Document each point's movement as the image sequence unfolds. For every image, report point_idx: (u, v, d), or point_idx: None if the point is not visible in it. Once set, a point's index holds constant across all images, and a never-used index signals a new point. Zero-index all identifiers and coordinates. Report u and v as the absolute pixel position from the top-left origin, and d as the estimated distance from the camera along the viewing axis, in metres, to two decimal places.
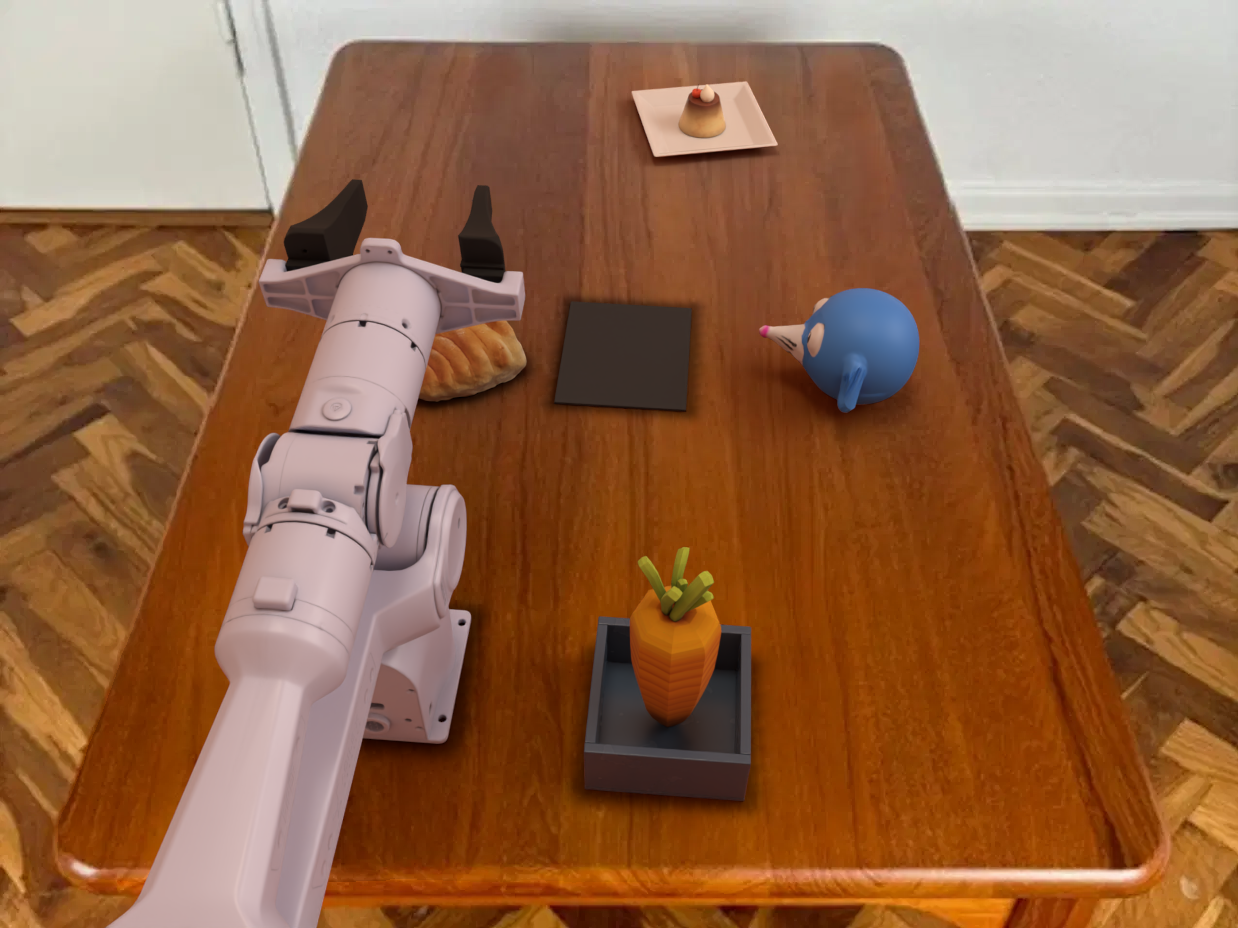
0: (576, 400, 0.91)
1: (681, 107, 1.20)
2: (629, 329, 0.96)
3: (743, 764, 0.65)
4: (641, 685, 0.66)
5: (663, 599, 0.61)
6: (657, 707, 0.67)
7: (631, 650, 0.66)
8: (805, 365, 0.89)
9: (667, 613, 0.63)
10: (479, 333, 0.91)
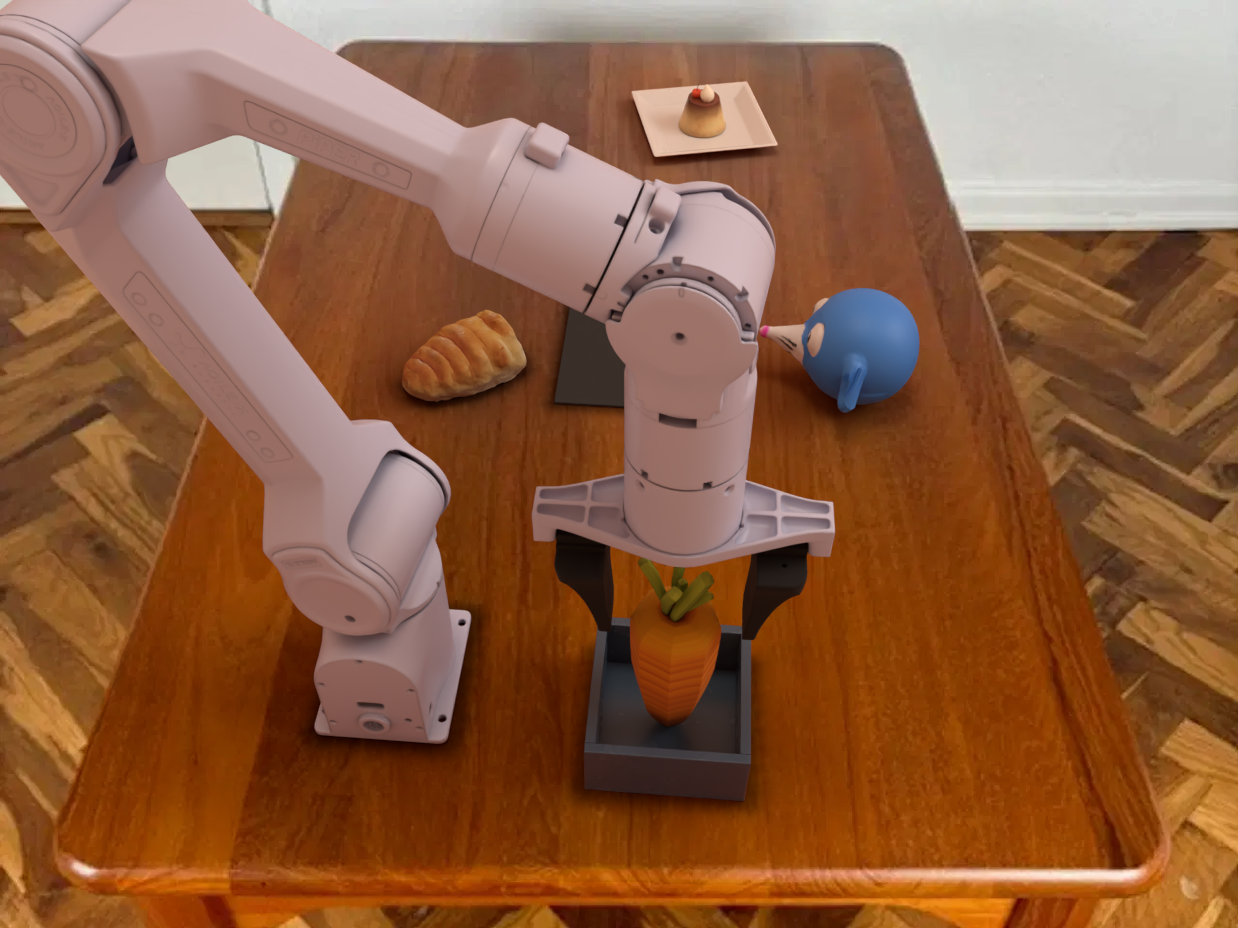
0: (576, 400, 0.91)
1: (681, 107, 1.20)
2: None
3: (743, 764, 0.65)
4: (641, 685, 0.66)
5: (663, 599, 0.61)
6: (657, 707, 0.67)
7: (631, 650, 0.66)
8: (805, 365, 0.89)
9: (667, 613, 0.63)
10: (479, 333, 0.91)
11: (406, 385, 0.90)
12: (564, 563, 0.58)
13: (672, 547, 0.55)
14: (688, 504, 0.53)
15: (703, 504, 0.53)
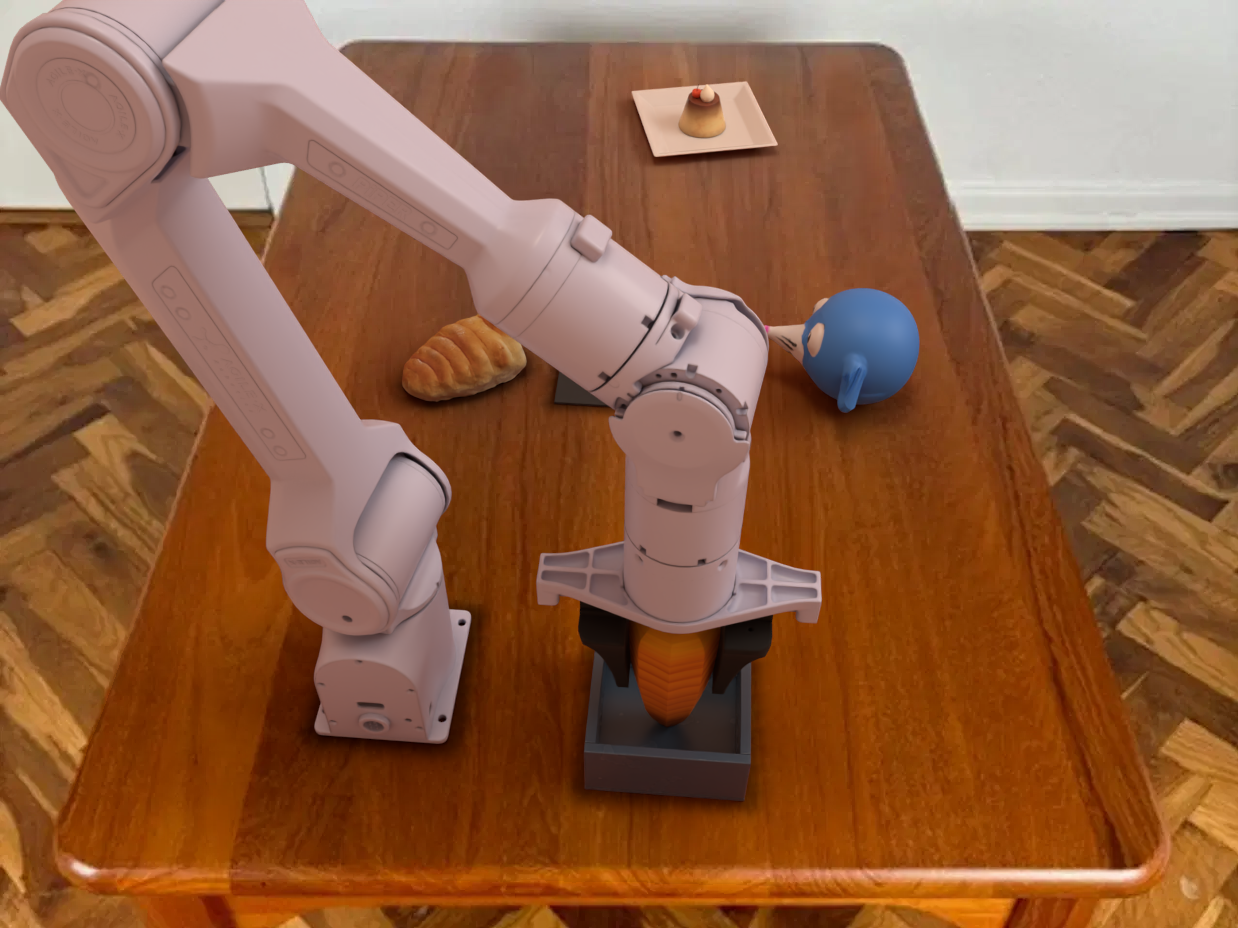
0: (576, 400, 0.91)
1: (681, 107, 1.20)
2: None
3: (743, 764, 0.65)
4: (640, 685, 0.66)
5: None
6: (656, 707, 0.67)
7: (630, 650, 0.66)
8: (805, 365, 0.89)
9: None
10: (479, 333, 0.91)
11: (406, 385, 0.90)
12: (587, 627, 0.62)
13: (668, 615, 0.59)
14: (684, 578, 0.57)
15: (698, 578, 0.57)
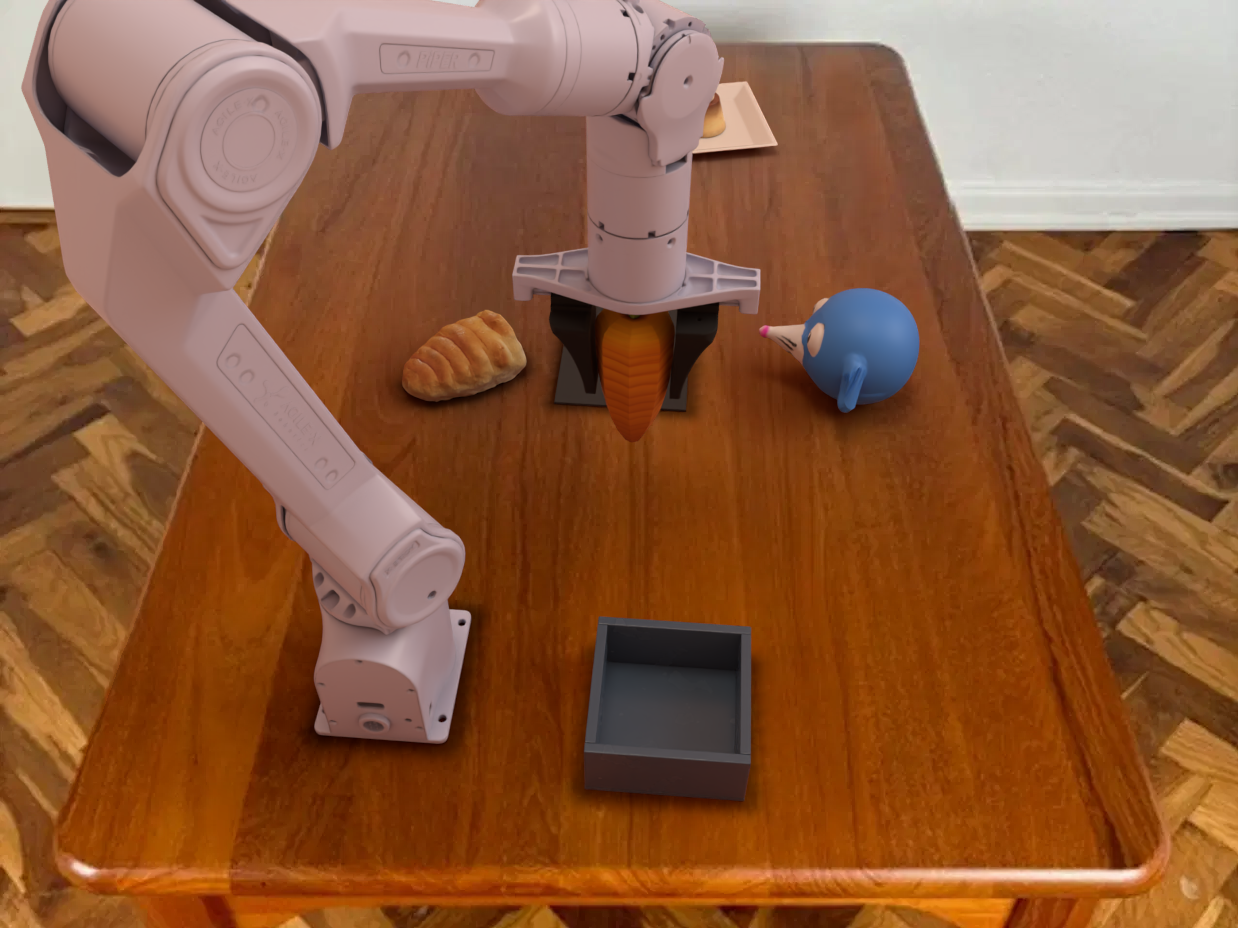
0: (576, 400, 0.91)
1: None
2: None
3: (743, 764, 0.65)
4: (605, 387, 0.75)
5: None
6: (620, 411, 0.76)
7: (597, 357, 0.75)
8: (805, 365, 0.89)
9: None
10: (479, 333, 0.91)
11: (406, 385, 0.90)
12: (557, 318, 0.71)
13: (626, 296, 0.68)
14: (637, 252, 0.66)
15: (650, 253, 0.66)
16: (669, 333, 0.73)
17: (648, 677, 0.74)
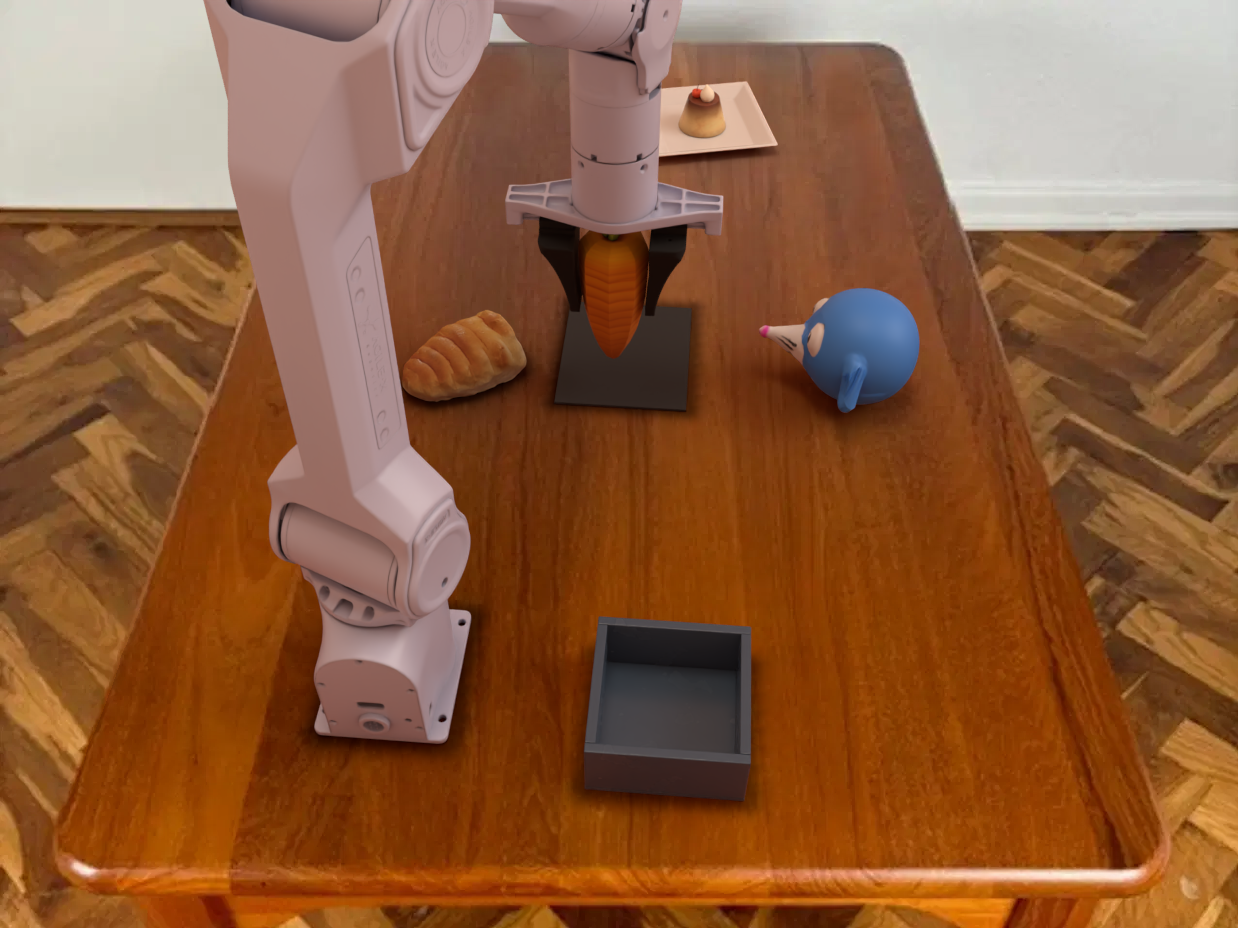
0: (576, 400, 0.91)
1: (681, 107, 1.20)
2: None
3: (743, 764, 0.65)
4: (588, 304, 0.85)
5: None
6: (601, 327, 0.86)
7: (580, 278, 0.85)
8: (805, 365, 0.89)
9: (606, 235, 0.82)
10: (479, 333, 0.91)
11: (406, 385, 0.90)
12: (544, 240, 0.80)
13: (604, 217, 0.78)
14: (614, 176, 0.75)
15: (625, 177, 0.75)
16: (644, 254, 0.82)
17: (648, 677, 0.74)
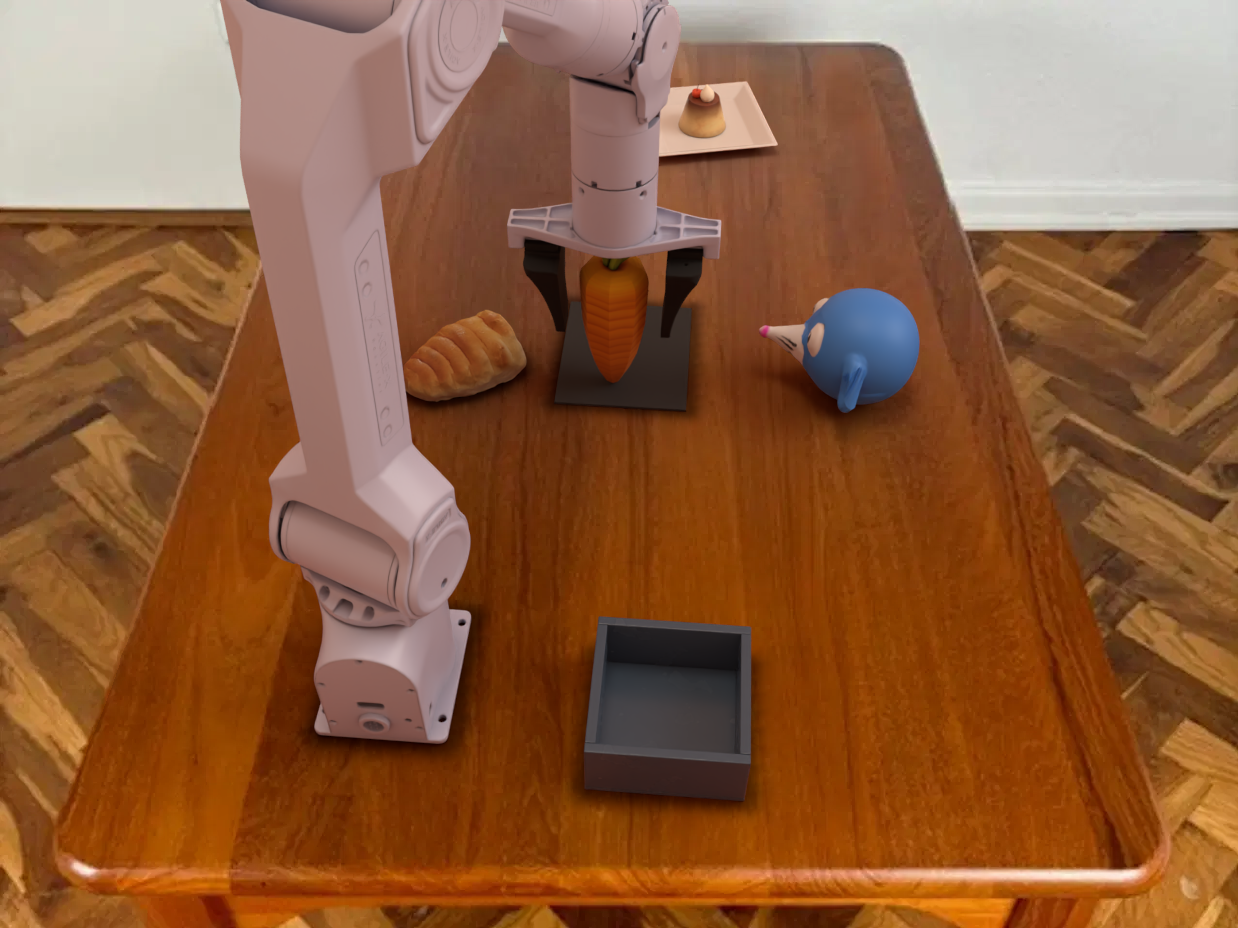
0: (576, 400, 0.91)
1: (681, 107, 1.20)
2: None
3: (743, 764, 0.65)
4: (589, 331, 0.86)
5: None
6: (602, 353, 0.88)
7: (581, 305, 0.87)
8: (805, 365, 0.89)
9: (606, 264, 0.84)
10: (479, 333, 0.91)
11: (406, 385, 0.90)
12: (530, 262, 0.82)
13: (605, 241, 0.79)
14: (614, 203, 0.77)
15: (625, 203, 0.77)
16: (643, 283, 0.84)
17: (648, 677, 0.74)
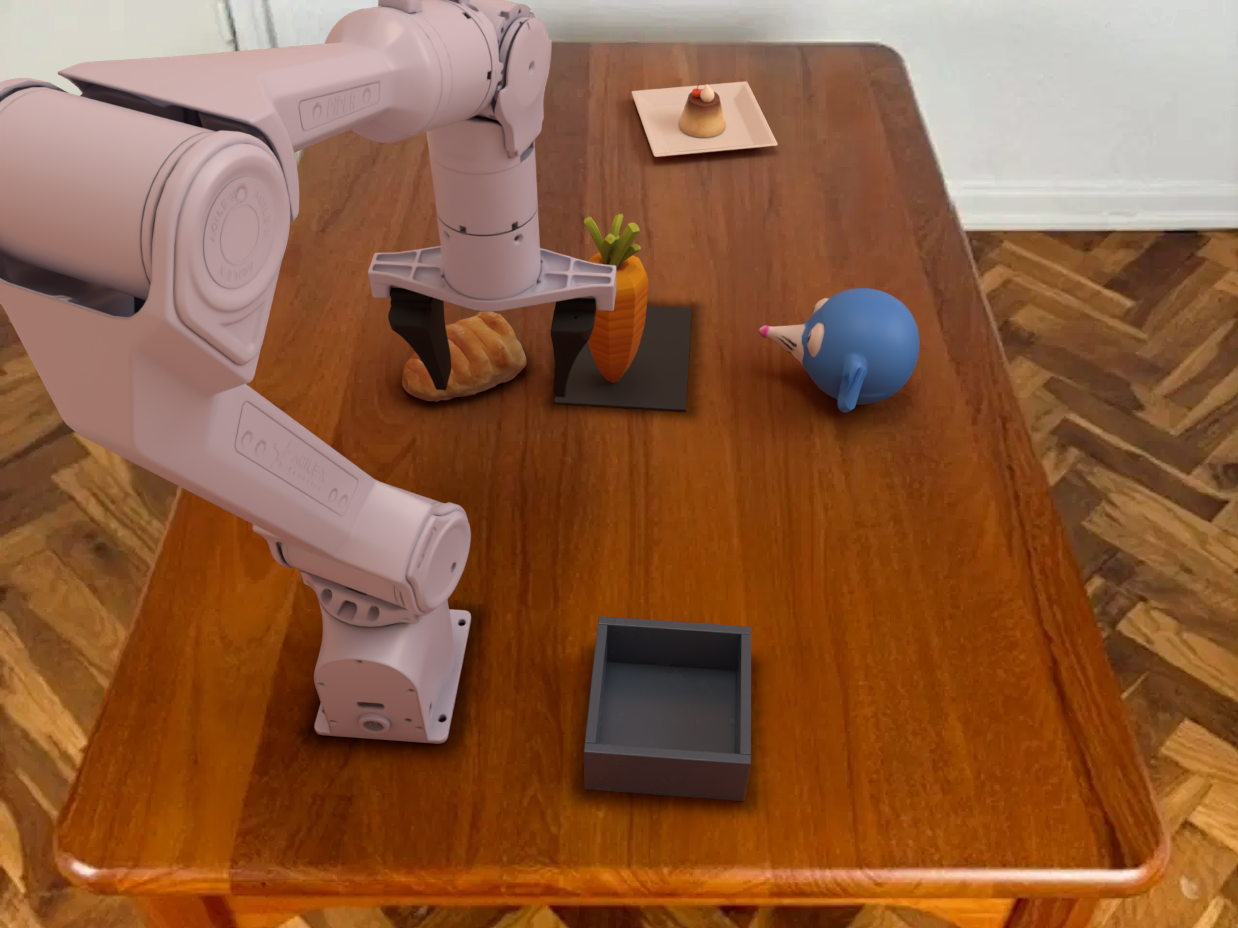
0: (576, 400, 0.91)
1: (681, 107, 1.20)
2: None
3: (743, 764, 0.65)
4: None
5: (602, 246, 0.82)
6: (601, 353, 0.88)
7: None
8: (805, 365, 0.89)
9: (606, 264, 0.84)
10: (479, 333, 0.91)
11: (406, 385, 0.90)
12: (396, 315, 0.71)
13: (477, 292, 0.68)
14: (484, 249, 0.66)
15: (496, 250, 0.66)
16: (643, 283, 0.84)
17: (648, 677, 0.74)
